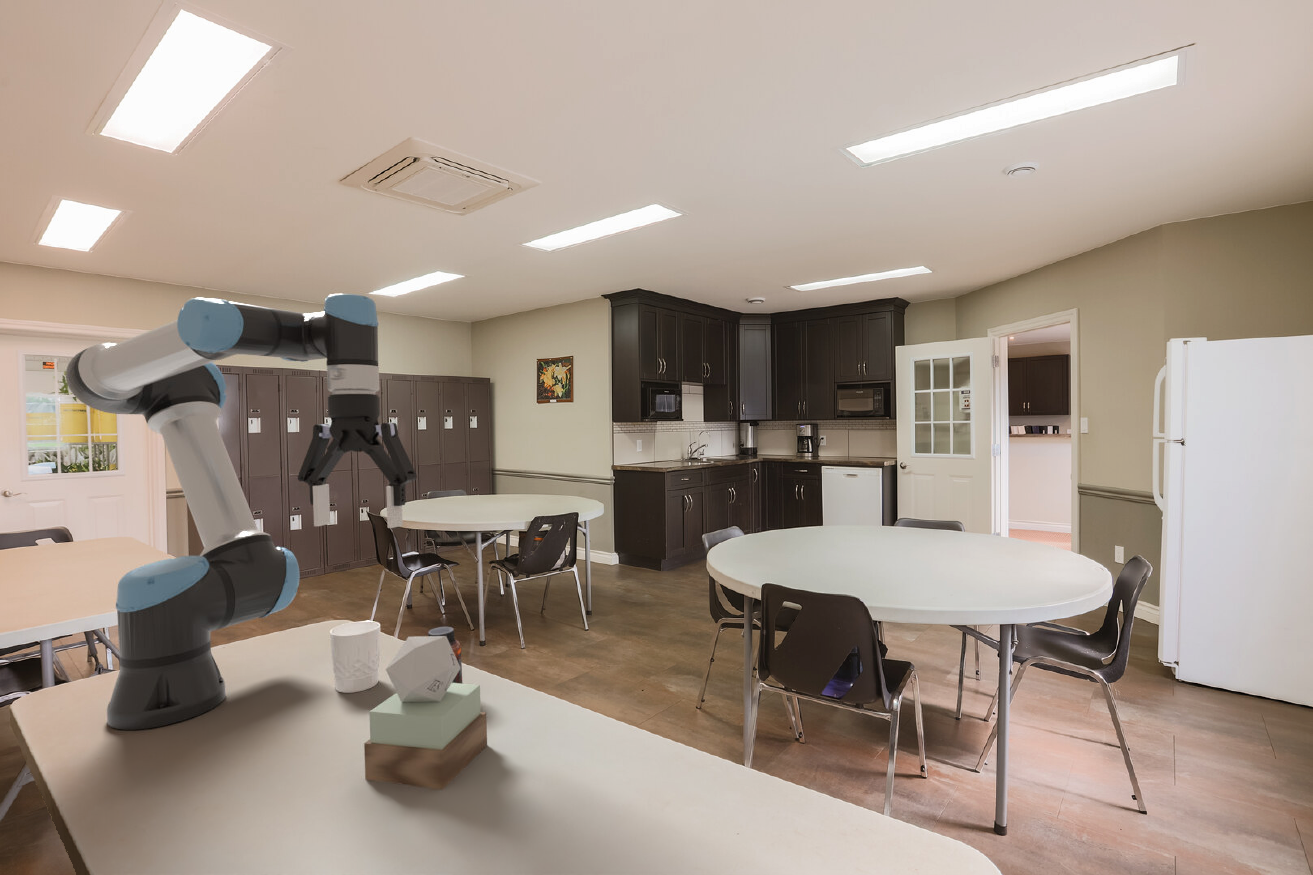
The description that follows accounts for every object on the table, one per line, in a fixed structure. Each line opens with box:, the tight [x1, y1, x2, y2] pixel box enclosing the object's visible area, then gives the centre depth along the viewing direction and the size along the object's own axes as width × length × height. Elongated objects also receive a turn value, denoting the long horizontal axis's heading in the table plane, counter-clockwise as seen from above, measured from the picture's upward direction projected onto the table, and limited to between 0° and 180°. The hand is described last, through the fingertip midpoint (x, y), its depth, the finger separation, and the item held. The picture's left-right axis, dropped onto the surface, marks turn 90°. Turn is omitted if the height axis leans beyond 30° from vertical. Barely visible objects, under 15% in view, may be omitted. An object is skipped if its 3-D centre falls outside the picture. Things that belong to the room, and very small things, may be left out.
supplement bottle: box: [427, 626, 463, 684], centre depth 105 cm, size 6×6×11 cm
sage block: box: [368, 683, 482, 750], centre depth 85 cm, size 10×10×4 cm
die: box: [385, 635, 460, 702], centre depth 85 cm, size 8×9×10 cm
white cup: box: [329, 620, 381, 694], centre depth 111 cm, size 8×8×10 cm
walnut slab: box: [363, 711, 488, 791], centre depth 86 cm, size 11×11×5 cm
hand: (358, 526), depth 104 cm, fingers open, 13 cm apart
